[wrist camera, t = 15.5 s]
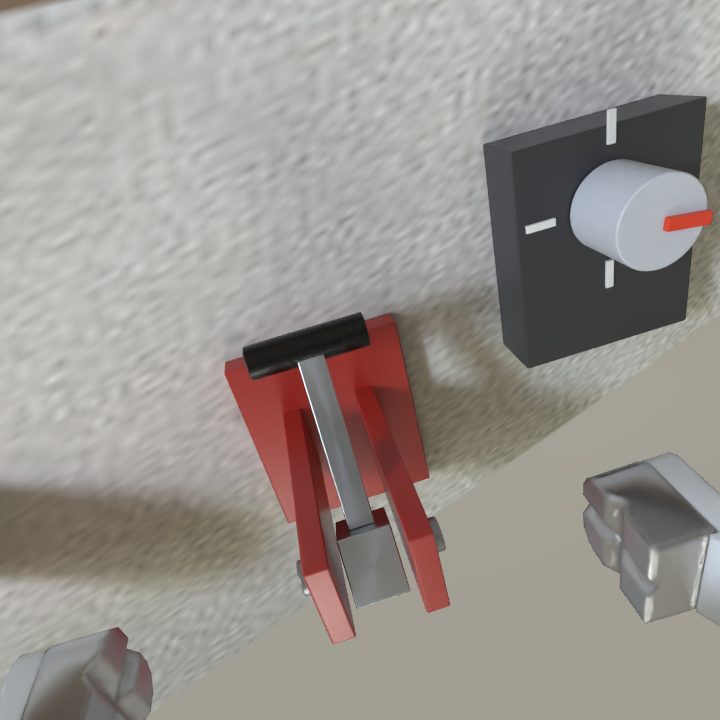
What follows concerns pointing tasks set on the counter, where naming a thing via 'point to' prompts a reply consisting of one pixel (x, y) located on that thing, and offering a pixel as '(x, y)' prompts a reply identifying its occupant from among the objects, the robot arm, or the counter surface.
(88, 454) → the counter surface
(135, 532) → the counter surface
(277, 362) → the lever
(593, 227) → the dial
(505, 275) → the console
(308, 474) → the red lever mount bracket
